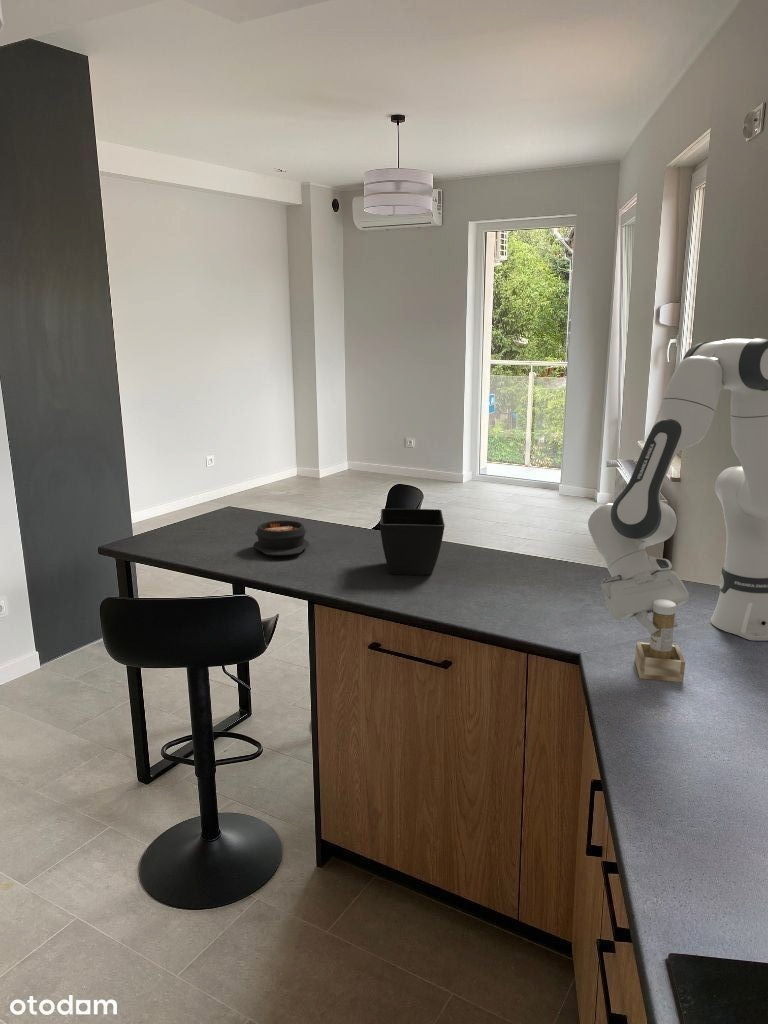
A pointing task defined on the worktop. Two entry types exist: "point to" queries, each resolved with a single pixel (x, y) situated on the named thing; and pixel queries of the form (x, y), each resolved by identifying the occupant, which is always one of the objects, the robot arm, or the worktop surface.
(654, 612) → the sprinkles bottle
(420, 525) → the flower pot
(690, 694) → the worktop surface
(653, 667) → the box
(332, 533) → the worktop surface
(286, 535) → the casserole
